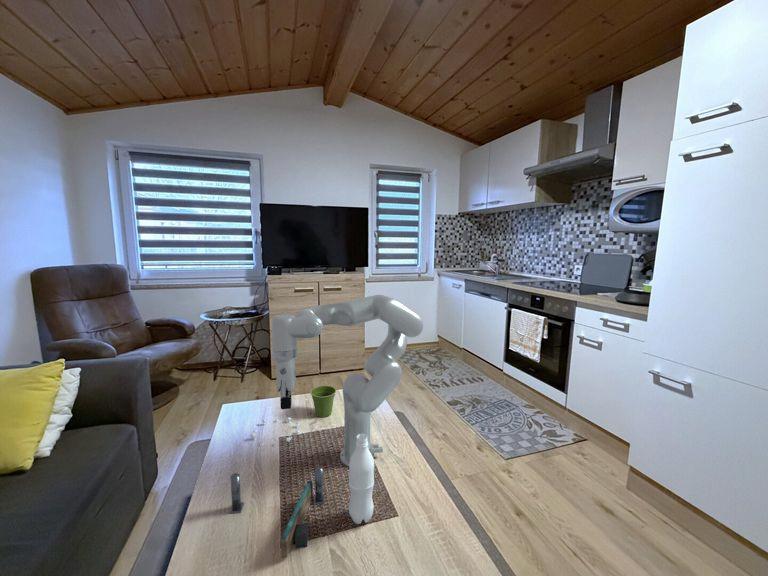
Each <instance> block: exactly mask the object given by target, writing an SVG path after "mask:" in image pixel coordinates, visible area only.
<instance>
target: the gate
mask: <svg viewBox="0 0 768 576" xmlns="http://www.w3.org/2000/svg"><path fill="white" fill-rule="evenodd" d="M313 499H314V495H313V481H312V480H311V479H310V480H309V479H308V481H307V482H306V484H305V487H304V489H303V491H302V492H301V495H300V498H299V500H298V501H297V504H296V505H295V508H294V510H293V512H292V514H291V516H290V519H289V521H288V522H287V525H286V526H285V529H284V531H283V532H282V535H281V538H280V557H281V558H288V556H289V554H290V552H291V549H292V547H293V545H294V543H295V532H296V525H298V524H303V522H304V519H305V517H306V515H307V513H308V510H309V507H310V506H311V503H312V500H313Z"/></svg>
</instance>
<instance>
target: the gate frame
mask: <svg viewBox="0 0 768 576" xmlns="http://www.w3.org/2000/svg"><path fill="white" fill-rule="evenodd" d="M314 478H315V479H314V491H315V493H314V495H313V506H314V505H323V504H325V498H326V497H325V493H324V466H322V465H317V466H315V467H314ZM230 488H231V489H230V490H231V491H230V492H231V506H230V510H229V511H228V513H229V515H230V514H239V513H242V510H243V508H244V505H245V503H244V501H242V499H241V498H242V497H241V475H240V473H239V472H236V473H233V474H231V475H230ZM308 542H309V523H308V522H307V523H302V524H298V525H296V532H295V540H294V543H295V544H294V545H295V549H301V548H308V546H309V545H308Z"/></svg>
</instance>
